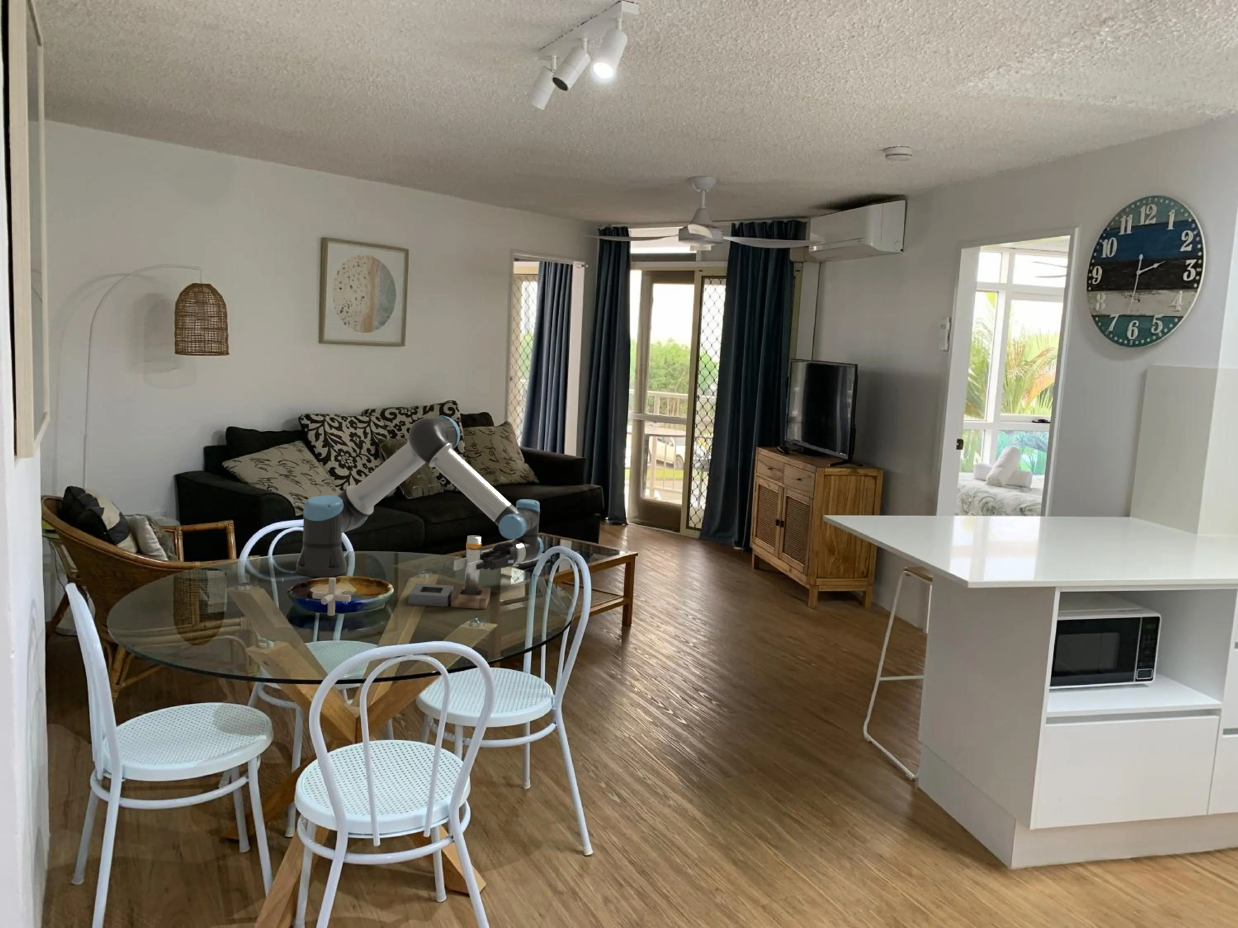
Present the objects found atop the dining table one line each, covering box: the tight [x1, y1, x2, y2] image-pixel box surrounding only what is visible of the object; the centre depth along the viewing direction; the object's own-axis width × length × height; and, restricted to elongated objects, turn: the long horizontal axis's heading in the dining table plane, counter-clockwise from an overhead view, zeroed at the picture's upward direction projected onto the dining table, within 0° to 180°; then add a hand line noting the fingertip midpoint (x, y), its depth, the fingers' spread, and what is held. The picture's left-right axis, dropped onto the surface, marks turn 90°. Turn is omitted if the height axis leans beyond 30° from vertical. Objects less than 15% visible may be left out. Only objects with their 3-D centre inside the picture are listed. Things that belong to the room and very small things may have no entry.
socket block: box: [407, 583, 454, 607], centre depth 266 cm, size 11×12×3 cm
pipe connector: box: [312, 577, 352, 617], centre depth 245 cm, size 10×10×10 cm
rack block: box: [450, 585, 492, 610], centre depth 267 cm, size 10×12×3 cm
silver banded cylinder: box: [464, 535, 483, 595], centre depth 266 cm, size 4×4×18 cm
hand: (461, 566), depth 261 cm, fingers closed on silver banded cylinder, 4 cm apart
